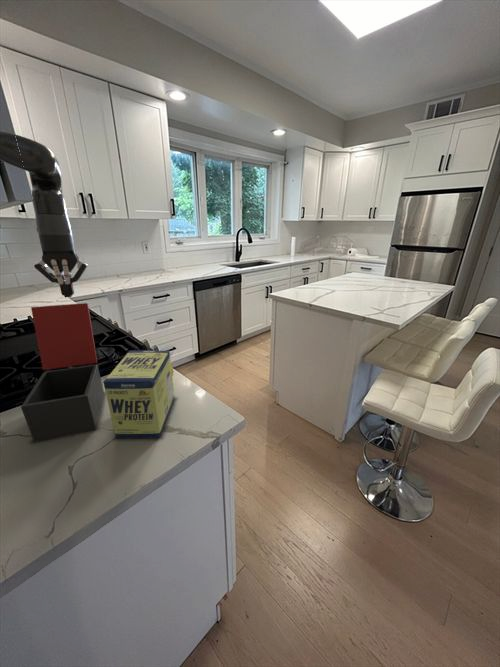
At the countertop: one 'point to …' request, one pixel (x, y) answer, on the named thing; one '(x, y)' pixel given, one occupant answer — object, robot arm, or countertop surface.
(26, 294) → the countertop surface
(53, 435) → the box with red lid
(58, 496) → the countertop surface
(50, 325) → the lid
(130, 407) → the protein box
